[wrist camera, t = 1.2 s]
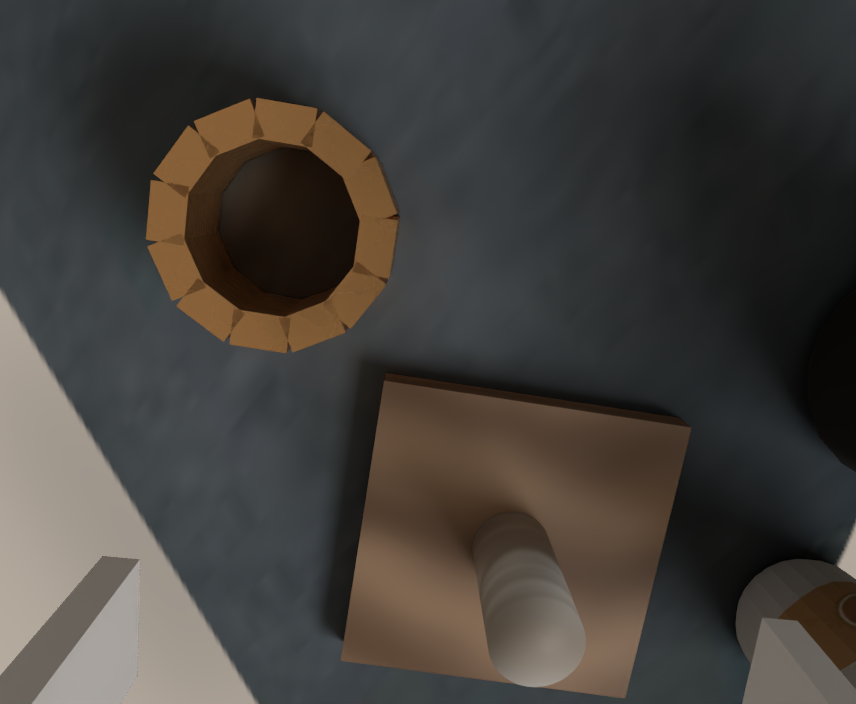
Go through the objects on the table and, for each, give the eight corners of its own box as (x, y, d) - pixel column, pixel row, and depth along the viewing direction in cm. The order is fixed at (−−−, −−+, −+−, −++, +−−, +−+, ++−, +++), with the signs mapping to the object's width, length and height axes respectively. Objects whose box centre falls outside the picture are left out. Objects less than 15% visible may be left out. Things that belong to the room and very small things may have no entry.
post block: (385, 372, 34) (375, 434, 25) (680, 417, 35) (770, 493, 26) (343, 641, 37) (321, 782, 28) (616, 678, 38) (678, 826, 29)
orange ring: (199, 99, 31) (158, 81, 27) (412, 135, 32) (412, 124, 27) (178, 310, 33) (138, 330, 28) (381, 341, 34) (375, 366, 29)
